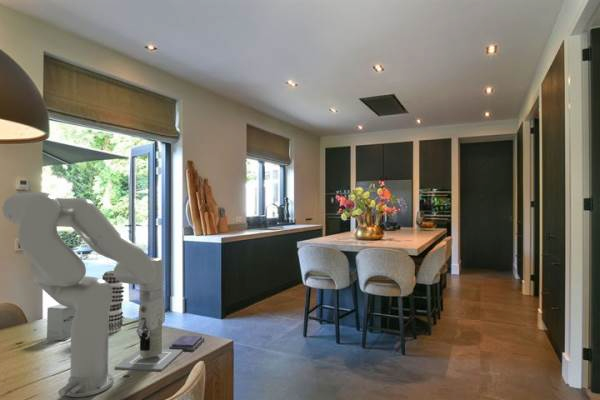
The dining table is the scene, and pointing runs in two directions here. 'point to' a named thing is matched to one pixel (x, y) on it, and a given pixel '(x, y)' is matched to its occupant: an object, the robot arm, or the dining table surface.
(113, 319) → the decorative candle
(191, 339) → the ink pad
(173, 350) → the card
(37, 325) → the dining table surface
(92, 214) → the robot arm
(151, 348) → the skincare box
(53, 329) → the supplement box
